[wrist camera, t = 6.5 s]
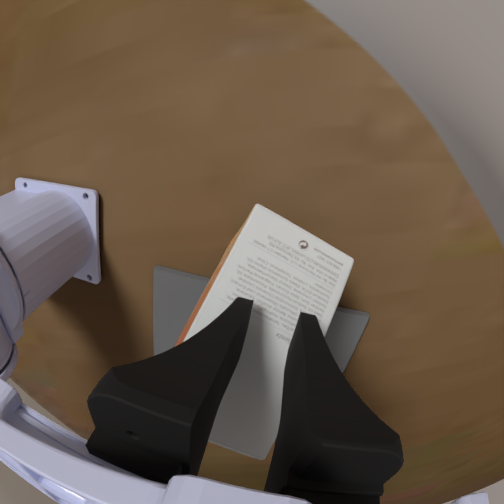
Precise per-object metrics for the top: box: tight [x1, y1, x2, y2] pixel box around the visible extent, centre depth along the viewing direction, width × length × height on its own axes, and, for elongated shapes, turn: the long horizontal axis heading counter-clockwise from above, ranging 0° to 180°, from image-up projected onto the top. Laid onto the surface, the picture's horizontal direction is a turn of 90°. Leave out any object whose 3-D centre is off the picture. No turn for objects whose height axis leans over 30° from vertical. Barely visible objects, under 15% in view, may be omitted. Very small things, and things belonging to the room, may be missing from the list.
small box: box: [174, 204, 354, 460], centre depth 17 cm, size 8×6×10 cm
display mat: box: [153, 265, 370, 441], centre depth 27 cm, size 16×18×1 cm
